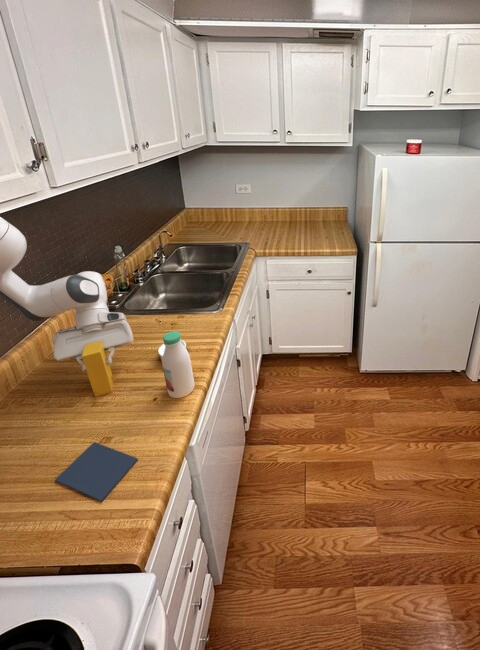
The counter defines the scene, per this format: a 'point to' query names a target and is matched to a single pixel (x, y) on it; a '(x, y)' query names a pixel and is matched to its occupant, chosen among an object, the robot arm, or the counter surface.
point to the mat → (97, 471)
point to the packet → (97, 368)
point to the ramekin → (162, 348)
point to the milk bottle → (177, 366)
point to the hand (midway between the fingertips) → (97, 367)
